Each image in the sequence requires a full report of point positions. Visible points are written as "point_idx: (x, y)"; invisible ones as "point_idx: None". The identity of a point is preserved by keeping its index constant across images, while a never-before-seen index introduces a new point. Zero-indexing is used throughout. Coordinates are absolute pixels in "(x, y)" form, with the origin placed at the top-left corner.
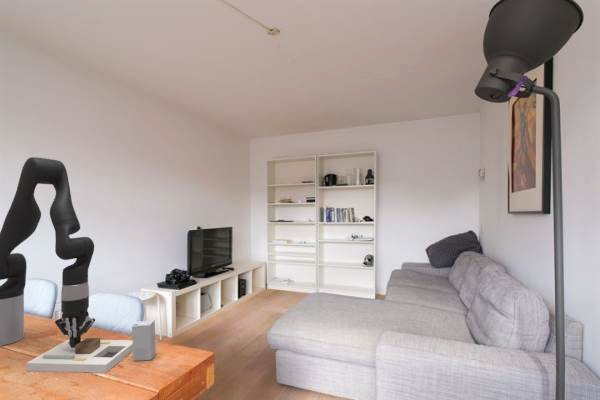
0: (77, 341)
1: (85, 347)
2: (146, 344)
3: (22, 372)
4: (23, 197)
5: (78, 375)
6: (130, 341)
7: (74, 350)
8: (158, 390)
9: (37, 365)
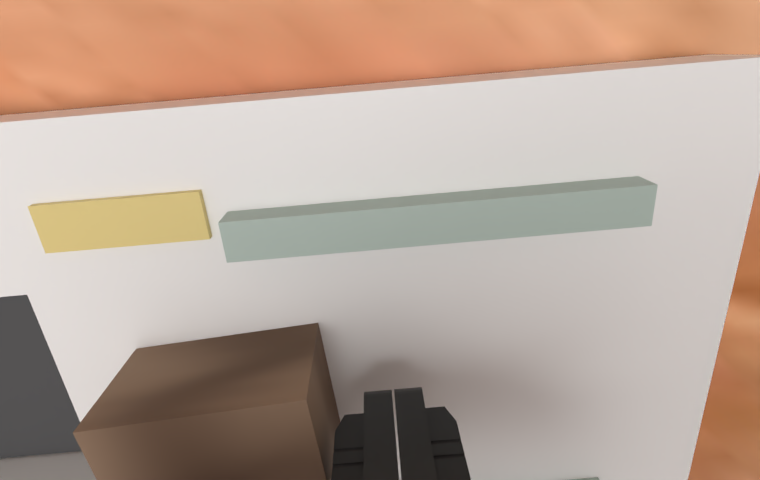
0: (332, 469)
1: (162, 395)
2: None
3: (729, 20)
4: None
5: (9, 47)
6: None
7: (406, 385)
8: None
9: (606, 68)
